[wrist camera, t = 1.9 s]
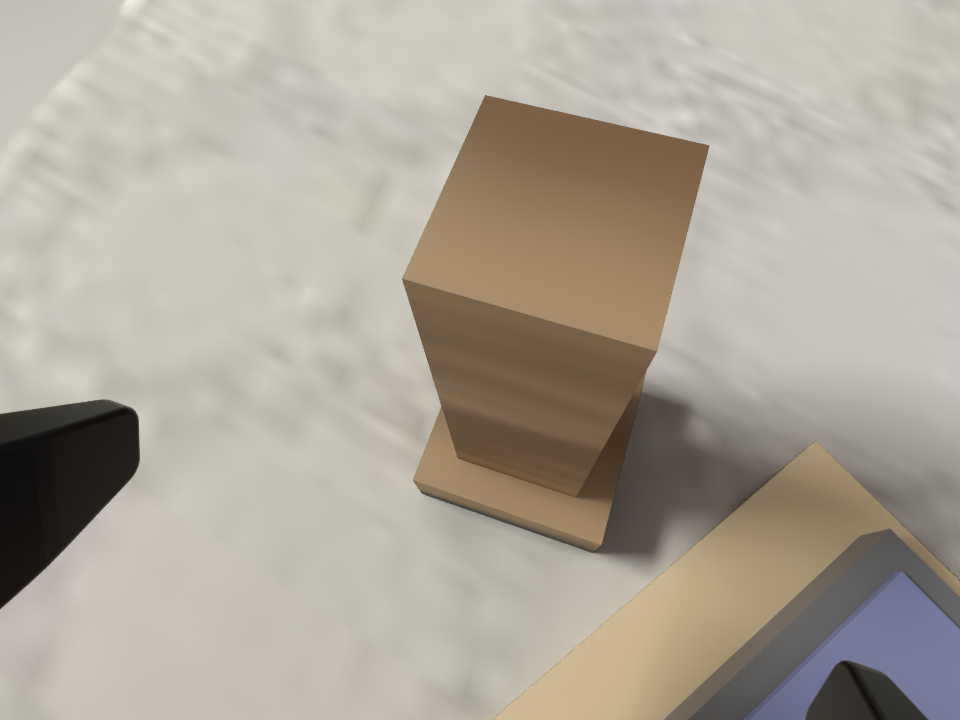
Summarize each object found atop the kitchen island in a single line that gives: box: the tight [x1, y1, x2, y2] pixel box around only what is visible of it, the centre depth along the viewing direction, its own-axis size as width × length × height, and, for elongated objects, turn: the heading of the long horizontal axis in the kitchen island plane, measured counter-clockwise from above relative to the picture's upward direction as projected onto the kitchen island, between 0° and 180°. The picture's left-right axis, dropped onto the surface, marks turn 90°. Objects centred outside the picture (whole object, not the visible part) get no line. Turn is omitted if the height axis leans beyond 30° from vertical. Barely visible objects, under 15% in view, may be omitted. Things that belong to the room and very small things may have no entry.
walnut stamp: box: [402, 95, 709, 552], centre depth 14 cm, size 6×6×12 cm
